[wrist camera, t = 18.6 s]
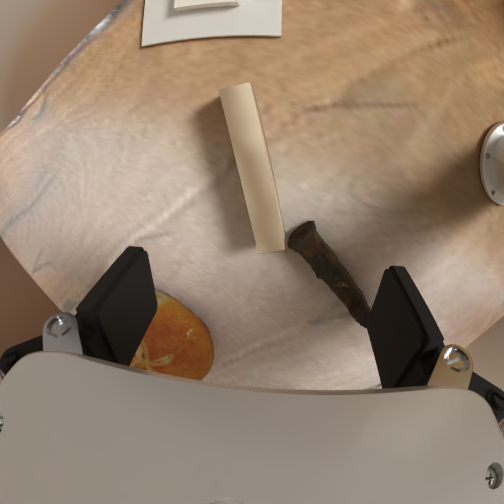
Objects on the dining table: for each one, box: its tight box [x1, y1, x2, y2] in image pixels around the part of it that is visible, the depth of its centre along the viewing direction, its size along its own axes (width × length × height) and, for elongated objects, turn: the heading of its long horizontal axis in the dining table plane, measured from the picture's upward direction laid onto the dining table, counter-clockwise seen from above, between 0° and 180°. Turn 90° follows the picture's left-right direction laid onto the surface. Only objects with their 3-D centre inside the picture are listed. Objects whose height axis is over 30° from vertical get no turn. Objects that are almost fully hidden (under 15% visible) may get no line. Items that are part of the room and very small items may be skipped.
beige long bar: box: [219, 82, 285, 254], centre depth 29 cm, size 3×18×5 cm, turn 13°
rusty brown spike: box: [288, 221, 371, 328], centre depth 36 cm, size 19×4×5 cm, turn 39°
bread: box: [130, 290, 214, 380], centre depth 42 cm, size 23×23×10 cm
